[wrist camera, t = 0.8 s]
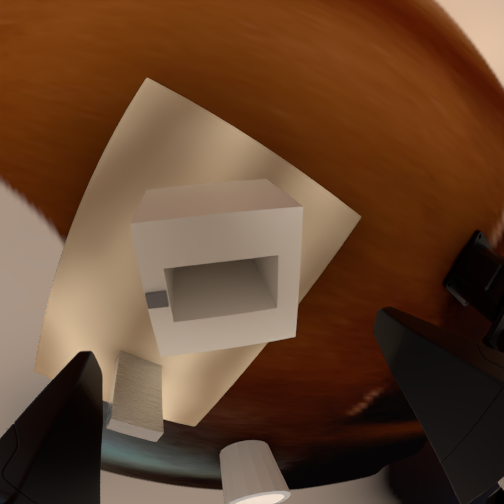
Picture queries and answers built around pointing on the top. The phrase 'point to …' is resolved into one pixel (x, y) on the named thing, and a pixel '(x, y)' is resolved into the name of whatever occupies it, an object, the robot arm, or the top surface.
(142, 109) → the maple board
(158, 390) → the post
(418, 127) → the top surface
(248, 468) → the shot glass
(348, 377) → the top surface
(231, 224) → the box
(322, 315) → the top surface
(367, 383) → the top surface
